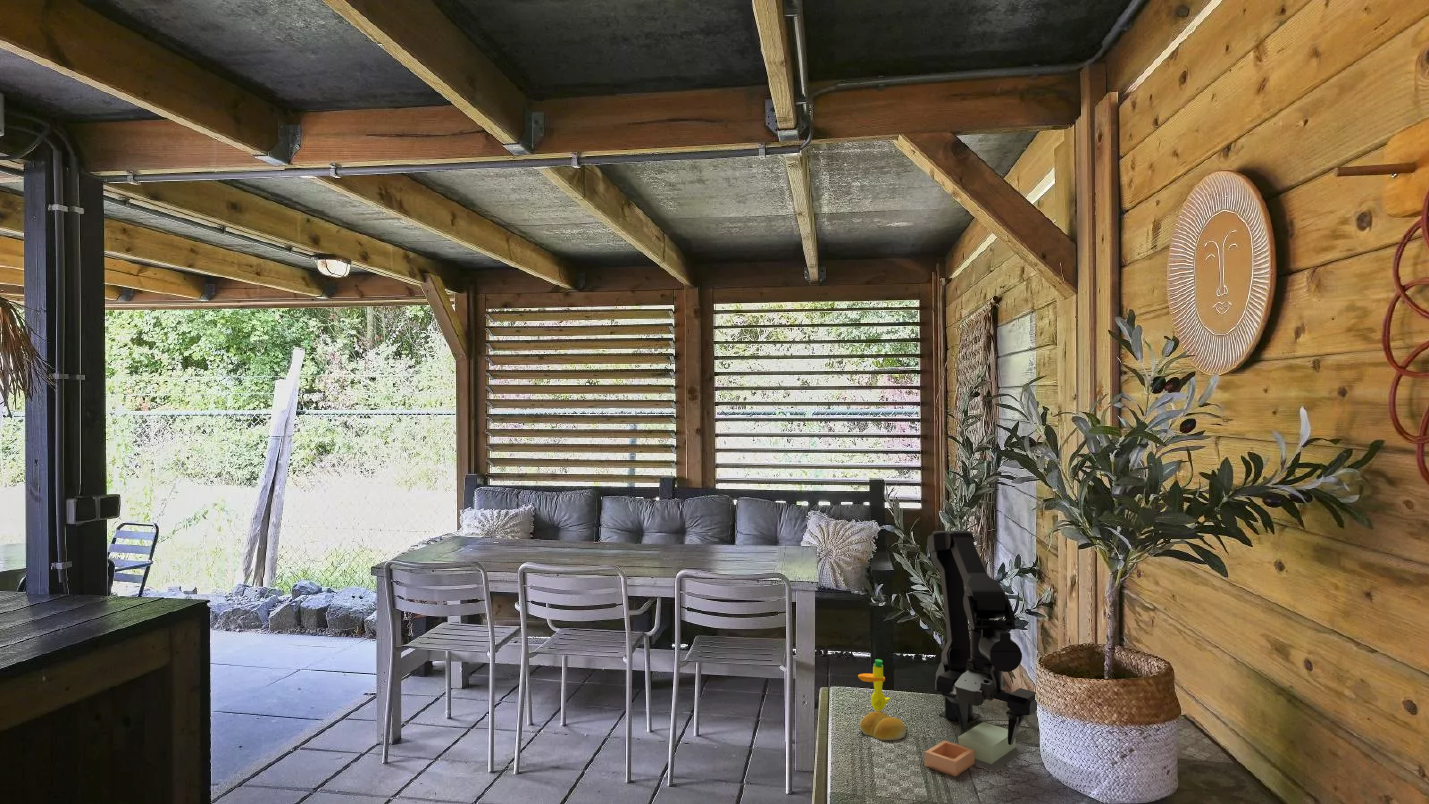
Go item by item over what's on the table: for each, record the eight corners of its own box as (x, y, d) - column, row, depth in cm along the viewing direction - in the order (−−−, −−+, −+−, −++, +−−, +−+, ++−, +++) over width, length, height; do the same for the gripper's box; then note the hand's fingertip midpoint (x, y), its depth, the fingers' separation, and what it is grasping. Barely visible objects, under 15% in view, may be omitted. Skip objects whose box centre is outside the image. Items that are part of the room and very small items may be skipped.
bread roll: (890, 747, 153) (890, 726, 153) (853, 733, 159) (853, 713, 159) (915, 735, 158) (915, 715, 158) (879, 722, 165) (879, 703, 165)
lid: (983, 737, 155) (983, 722, 155) (1015, 747, 151) (1015, 731, 151) (958, 753, 148) (958, 737, 148) (991, 764, 144) (991, 747, 144)
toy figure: (858, 718, 166) (857, 661, 166) (858, 712, 170) (858, 656, 170) (890, 721, 165) (890, 663, 165) (891, 715, 168) (890, 658, 168)
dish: (944, 756, 148) (944, 740, 148) (974, 766, 144) (974, 749, 144) (924, 768, 143) (924, 751, 143) (955, 779, 139) (955, 762, 139)
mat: (979, 734, 158) (979, 731, 158) (1029, 749, 151) (1029, 746, 151) (944, 756, 148) (944, 753, 148) (995, 773, 141) (995, 770, 141)
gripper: (920, 653, 151) (920, 735, 150) (1015, 676, 137) (1016, 766, 137) (949, 640, 158) (949, 719, 158) (1042, 661, 145) (1043, 747, 145)
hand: (986, 737), depth 150 cm, fingers open, 9 cm apart
